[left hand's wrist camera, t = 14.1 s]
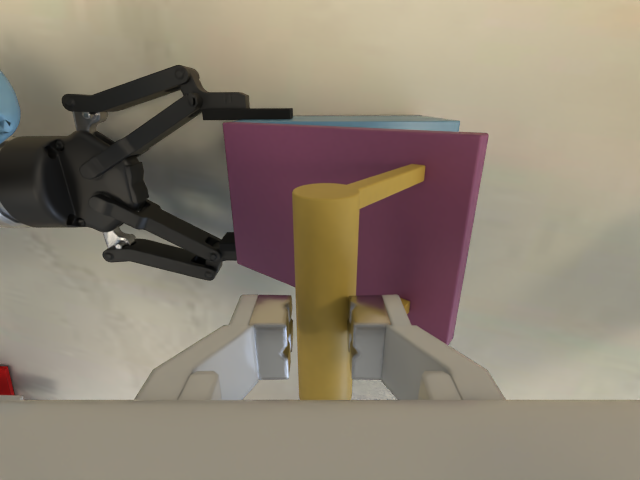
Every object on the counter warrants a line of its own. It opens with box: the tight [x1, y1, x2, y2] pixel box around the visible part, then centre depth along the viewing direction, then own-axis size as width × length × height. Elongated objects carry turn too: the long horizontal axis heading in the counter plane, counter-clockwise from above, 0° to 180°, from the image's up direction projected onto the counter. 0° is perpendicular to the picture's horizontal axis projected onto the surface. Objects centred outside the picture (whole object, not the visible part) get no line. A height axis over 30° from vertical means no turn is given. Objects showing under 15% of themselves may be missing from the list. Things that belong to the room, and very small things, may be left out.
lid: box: [223, 122, 489, 400], centre depth 17 cm, size 16×10×9 cm
